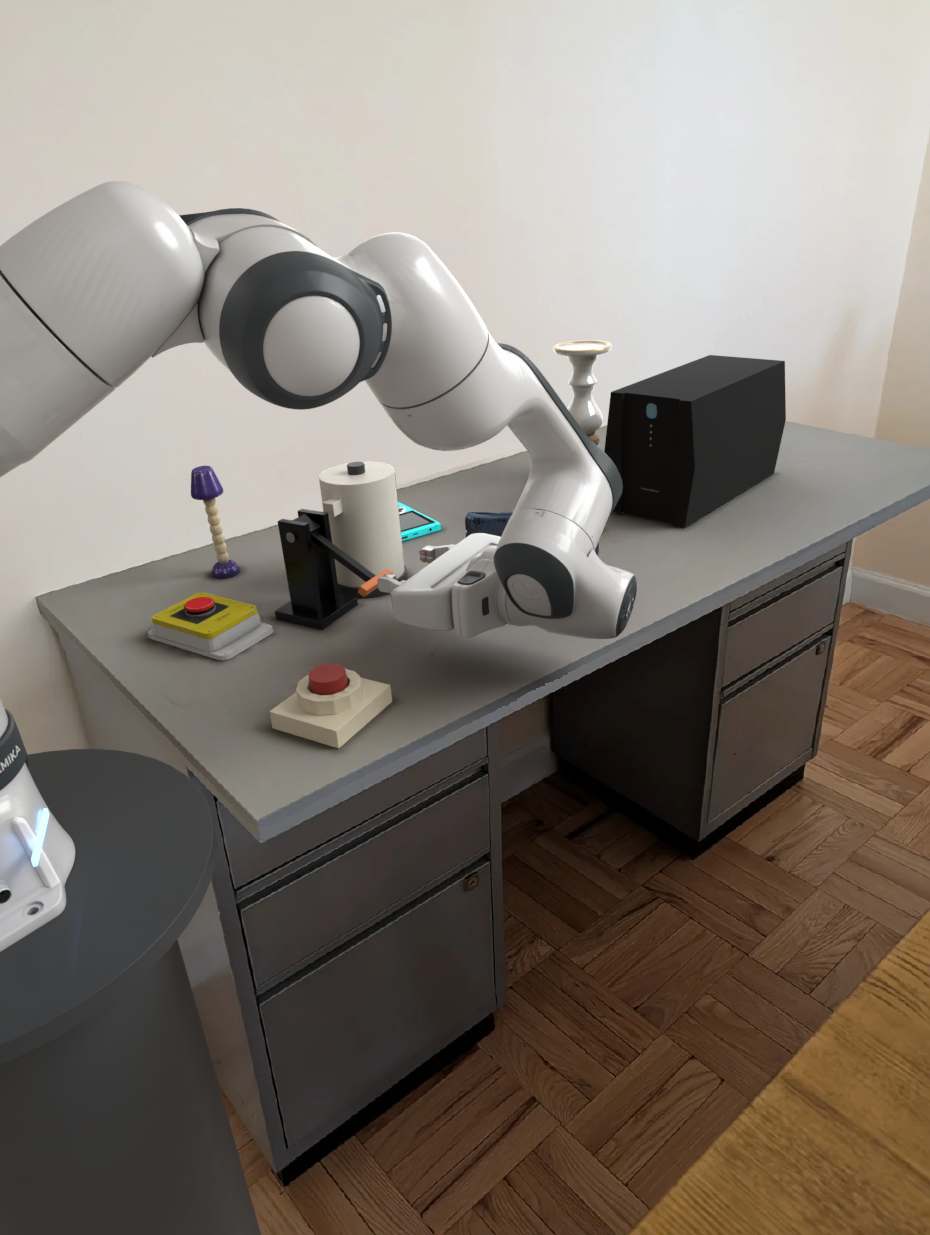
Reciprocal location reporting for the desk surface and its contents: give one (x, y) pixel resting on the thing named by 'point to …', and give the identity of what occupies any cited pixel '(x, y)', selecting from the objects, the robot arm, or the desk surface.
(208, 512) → the toy lamp
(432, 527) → the handheld game console
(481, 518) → the vhs cassette tape
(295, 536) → the switch bracket
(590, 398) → the candle holder
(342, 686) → the button
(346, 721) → the button block
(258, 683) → the desk surface
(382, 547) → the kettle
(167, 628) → the emergency button
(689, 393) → the uninterruptible power supply
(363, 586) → the power lever
